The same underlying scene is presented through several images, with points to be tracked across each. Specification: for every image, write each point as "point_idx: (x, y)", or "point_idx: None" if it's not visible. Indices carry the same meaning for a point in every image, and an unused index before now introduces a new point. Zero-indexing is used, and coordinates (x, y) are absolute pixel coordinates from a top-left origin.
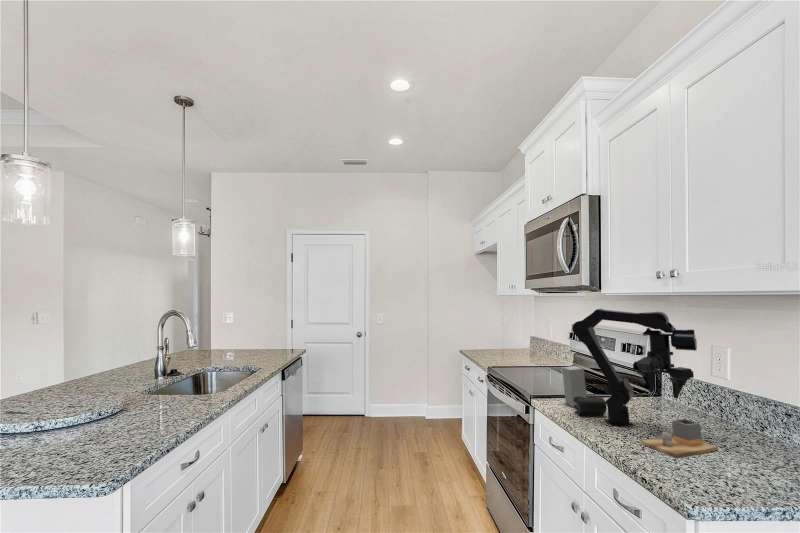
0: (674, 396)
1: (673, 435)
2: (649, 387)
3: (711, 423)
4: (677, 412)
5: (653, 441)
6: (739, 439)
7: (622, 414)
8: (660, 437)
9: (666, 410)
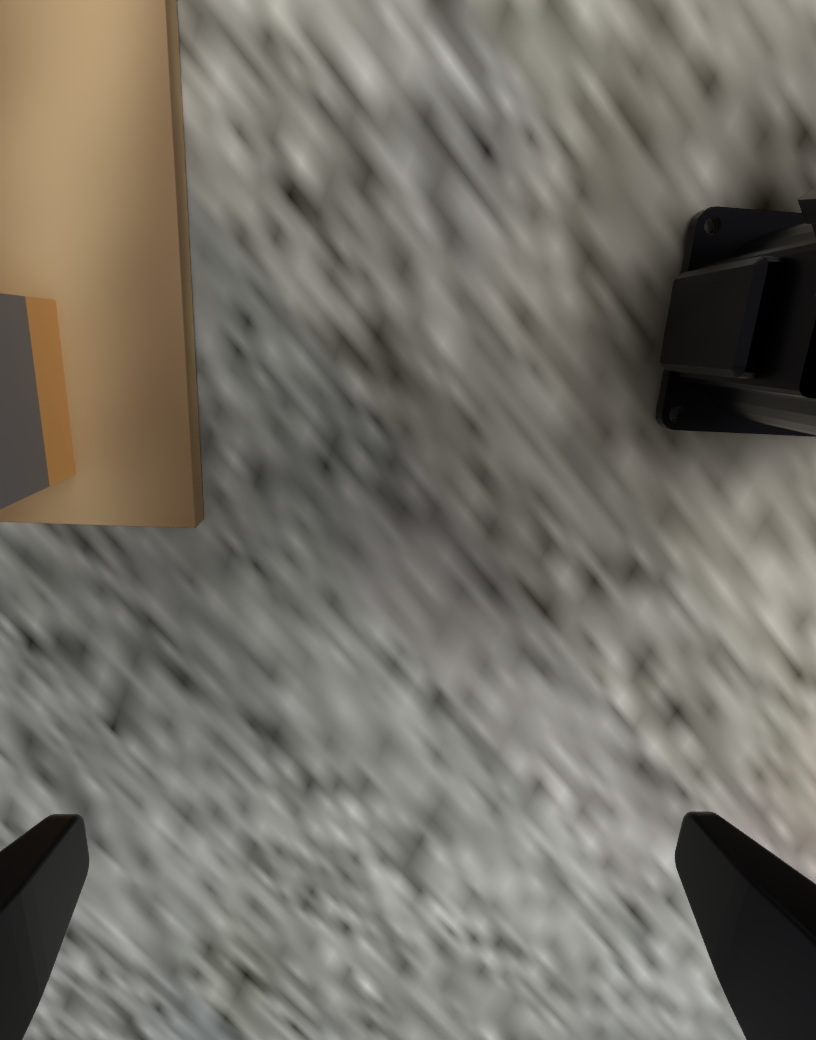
0: (29, 836)
1: (25, 296)
2: (769, 888)
3: (380, 994)
4: (669, 1004)
5: (73, 18)
6: None
7: (753, 260)
8: (167, 242)
9: None
